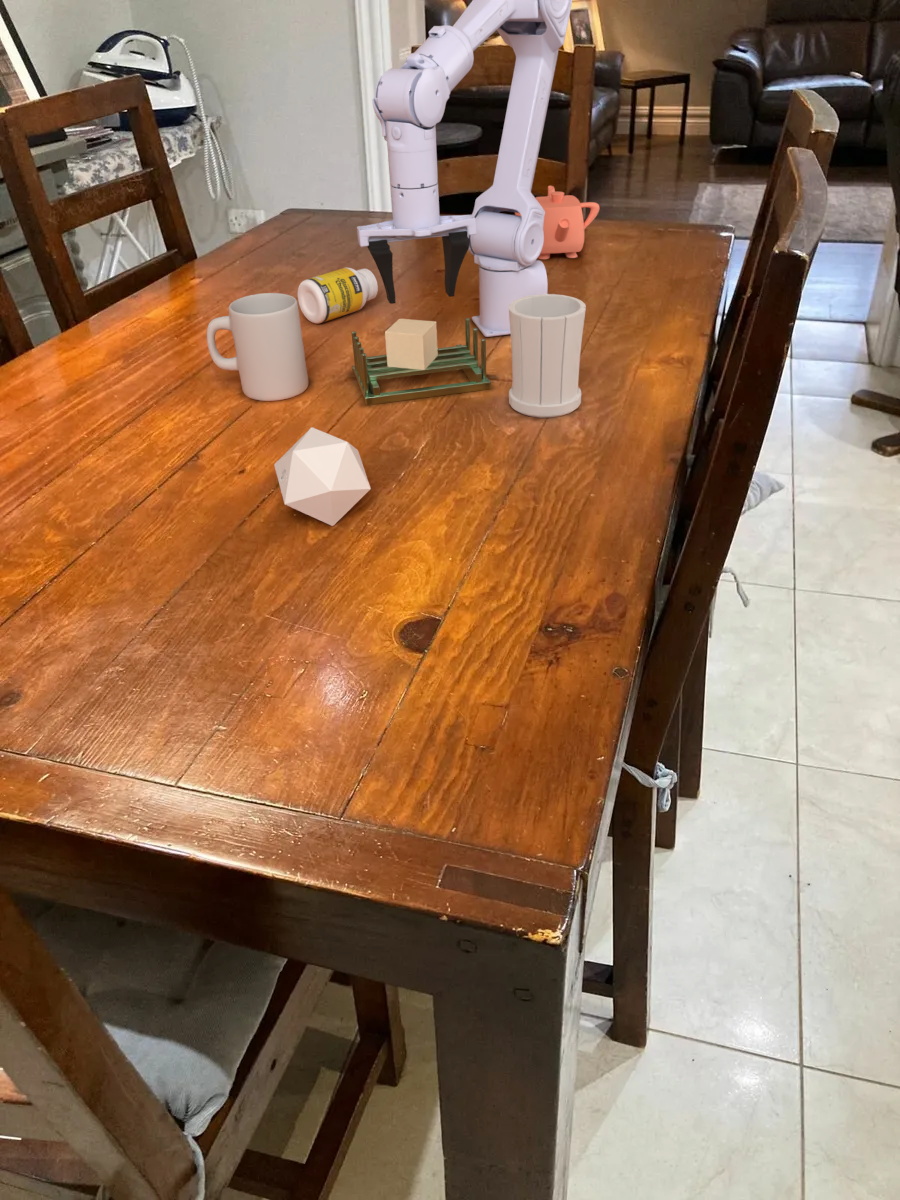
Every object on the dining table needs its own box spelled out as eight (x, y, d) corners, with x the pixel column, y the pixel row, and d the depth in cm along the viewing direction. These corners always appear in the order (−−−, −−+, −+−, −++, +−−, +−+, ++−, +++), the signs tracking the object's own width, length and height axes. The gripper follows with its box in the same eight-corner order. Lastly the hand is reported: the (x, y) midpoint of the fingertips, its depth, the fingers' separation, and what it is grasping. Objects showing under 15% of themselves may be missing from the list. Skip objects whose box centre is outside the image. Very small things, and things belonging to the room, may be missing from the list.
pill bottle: (310, 274, 135) (371, 255, 141) (289, 288, 140) (348, 269, 146) (328, 318, 136) (387, 297, 143) (307, 330, 141) (365, 309, 148)
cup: (490, 392, 117) (489, 297, 110) (554, 379, 120) (557, 285, 113) (528, 425, 109) (530, 323, 102) (596, 409, 112) (602, 310, 105)
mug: (313, 374, 124) (302, 291, 118) (304, 400, 117) (292, 313, 111) (223, 377, 124) (207, 294, 118) (209, 403, 117) (192, 317, 111)
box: (401, 352, 122) (399, 318, 119) (437, 355, 120) (436, 321, 118) (387, 366, 118) (384, 331, 115) (424, 370, 116) (422, 335, 114)
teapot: (608, 253, 164) (612, 191, 158) (563, 268, 158) (565, 205, 152) (549, 239, 173) (550, 180, 167) (503, 253, 167) (503, 192, 161)
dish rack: (469, 358, 127) (468, 314, 123) (490, 389, 118) (490, 343, 114) (352, 372, 124) (348, 328, 120) (366, 405, 115) (361, 358, 112)
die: (305, 490, 99) (247, 442, 91) (374, 448, 97) (321, 395, 89) (322, 552, 95) (263, 508, 87) (396, 509, 93) (342, 459, 85)
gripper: (359, 197, 107) (370, 314, 115) (481, 184, 109) (483, 300, 117) (350, 184, 112) (360, 296, 120) (466, 172, 115) (469, 284, 123)
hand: (420, 297), depth 119 cm, fingers open, 7 cm apart
